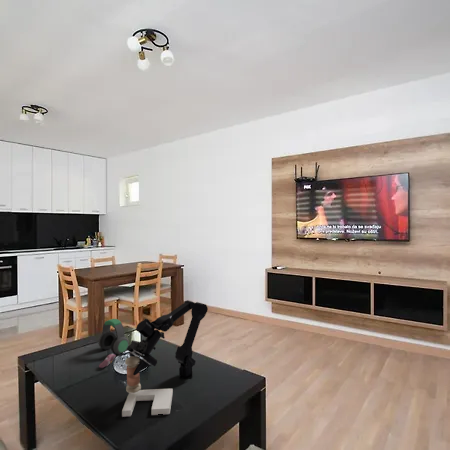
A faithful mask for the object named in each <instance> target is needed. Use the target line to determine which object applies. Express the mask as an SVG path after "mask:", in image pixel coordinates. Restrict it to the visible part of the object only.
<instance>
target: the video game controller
mask: <svg viewBox="0 0 450 450" xmlns="http://www.w3.org/2000/svg"><path fill="white" fill-rule="evenodd" d="M116 356H117V354H115V353H110V354H108V355H107V356H106V357H105V359H104V360H103V361H102V362H100V363H99V365H98V368H99V369H103V368H105V367H108V366H109V364H112V363H113V361H114V360H115V358H116Z"/></svg>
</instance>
